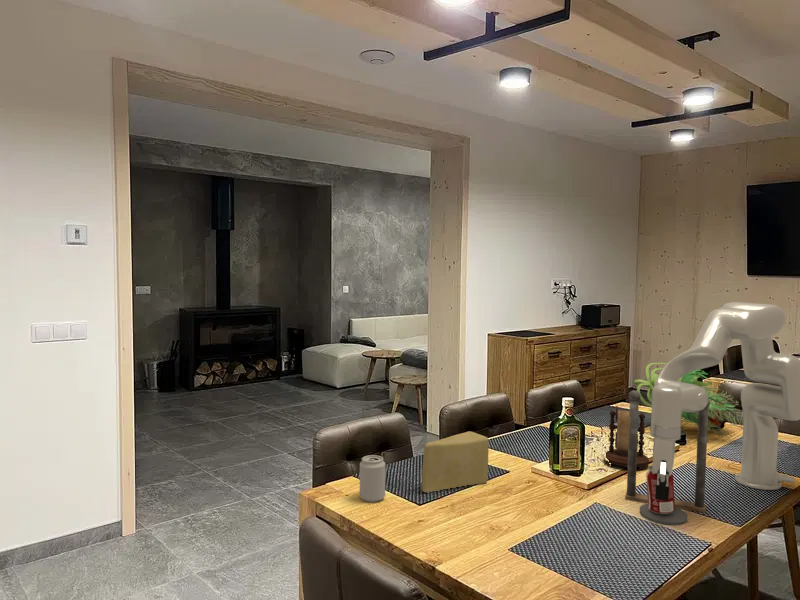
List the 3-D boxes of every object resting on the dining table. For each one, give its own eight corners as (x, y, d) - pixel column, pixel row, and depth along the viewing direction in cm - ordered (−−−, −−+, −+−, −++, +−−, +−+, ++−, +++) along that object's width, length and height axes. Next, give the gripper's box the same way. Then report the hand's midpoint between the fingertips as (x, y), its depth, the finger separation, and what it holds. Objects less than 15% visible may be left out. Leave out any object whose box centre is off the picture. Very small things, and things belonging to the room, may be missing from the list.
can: (389, 495, 178) (389, 455, 178) (378, 505, 172) (378, 463, 171) (367, 491, 181) (367, 452, 181) (354, 500, 175) (354, 459, 174)
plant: (766, 429, 224) (671, 379, 223) (701, 476, 246) (614, 431, 245) (749, 367, 251) (664, 323, 250) (693, 415, 273) (614, 374, 272)
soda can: (678, 516, 162) (675, 472, 161) (651, 516, 163) (649, 473, 162) (671, 506, 168) (669, 464, 168) (645, 506, 170) (643, 464, 169)
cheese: (433, 499, 176) (433, 448, 175) (413, 488, 184) (414, 440, 183) (489, 483, 189) (490, 436, 188) (468, 474, 197) (469, 429, 196)
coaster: (687, 511, 169) (687, 507, 169) (687, 528, 158) (687, 524, 158) (641, 503, 174) (641, 500, 174) (638, 519, 163) (638, 516, 163)
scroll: (601, 467, 204) (603, 409, 203) (604, 454, 218) (606, 400, 216) (648, 474, 198) (650, 413, 197) (648, 460, 212) (650, 404, 211)
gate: (705, 508, 171) (710, 396, 169) (705, 512, 168) (710, 398, 166) (625, 495, 180) (629, 388, 178) (624, 499, 177) (628, 391, 175)
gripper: (652, 422, 174) (649, 482, 175) (648, 437, 158) (645, 502, 159) (681, 425, 170) (678, 486, 171) (680, 441, 155) (677, 508, 156)
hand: (662, 494), depth 165 cm, fingers open, 8 cm apart
